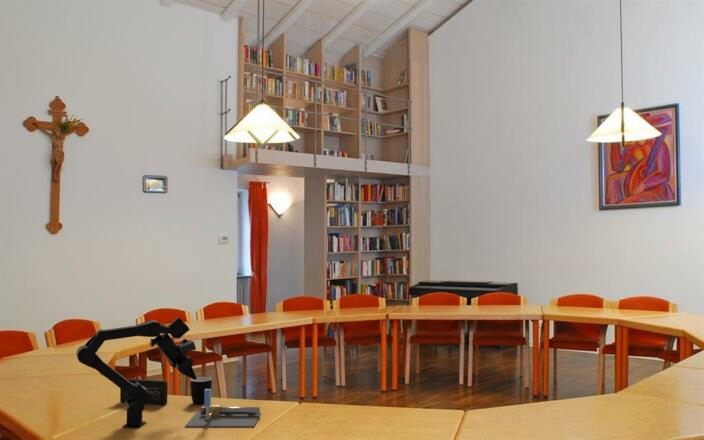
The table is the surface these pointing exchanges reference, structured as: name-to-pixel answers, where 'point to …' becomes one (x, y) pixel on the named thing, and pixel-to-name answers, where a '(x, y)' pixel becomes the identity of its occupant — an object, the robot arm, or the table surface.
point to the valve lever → (207, 403)
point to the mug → (199, 389)
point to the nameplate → (150, 391)
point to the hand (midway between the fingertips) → (192, 376)
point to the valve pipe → (229, 410)
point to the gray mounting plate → (224, 421)
